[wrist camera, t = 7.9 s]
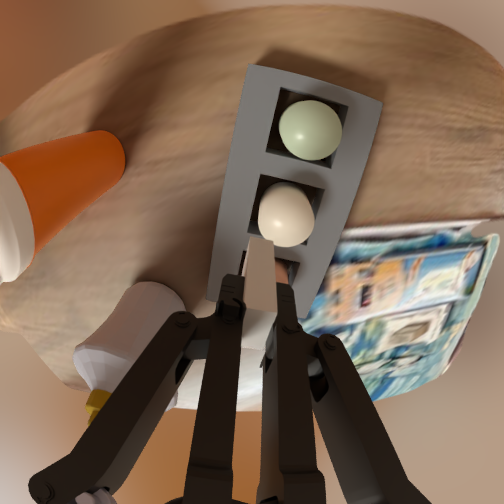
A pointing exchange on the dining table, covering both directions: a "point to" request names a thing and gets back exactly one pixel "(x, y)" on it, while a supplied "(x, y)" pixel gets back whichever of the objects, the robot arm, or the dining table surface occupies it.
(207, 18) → the dining table surface
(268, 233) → the cream egg
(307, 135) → the pale green rounded knob
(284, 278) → the brown egg
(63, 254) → the dining table surface
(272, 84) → the panel
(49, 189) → the shaker bottle
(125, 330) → the soap bottle
